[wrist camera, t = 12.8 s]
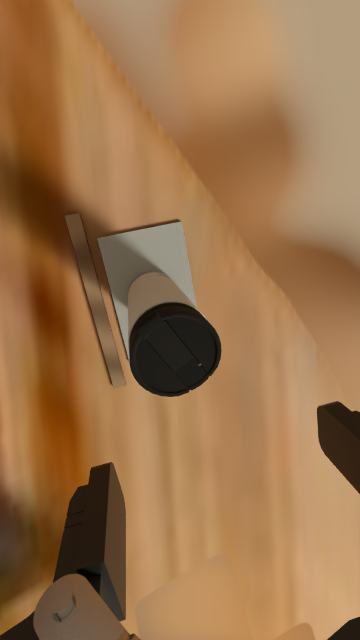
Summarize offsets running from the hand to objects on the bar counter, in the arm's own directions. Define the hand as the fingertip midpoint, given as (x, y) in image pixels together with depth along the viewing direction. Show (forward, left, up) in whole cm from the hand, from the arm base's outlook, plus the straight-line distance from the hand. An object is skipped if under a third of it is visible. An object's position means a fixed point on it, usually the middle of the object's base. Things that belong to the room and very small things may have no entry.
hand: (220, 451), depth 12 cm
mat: (0, 0, -29) cm, 29 cm away
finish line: (0, -7, -29) cm, 30 cm away
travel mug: (0, 0, -29) cm, 29 cm away
